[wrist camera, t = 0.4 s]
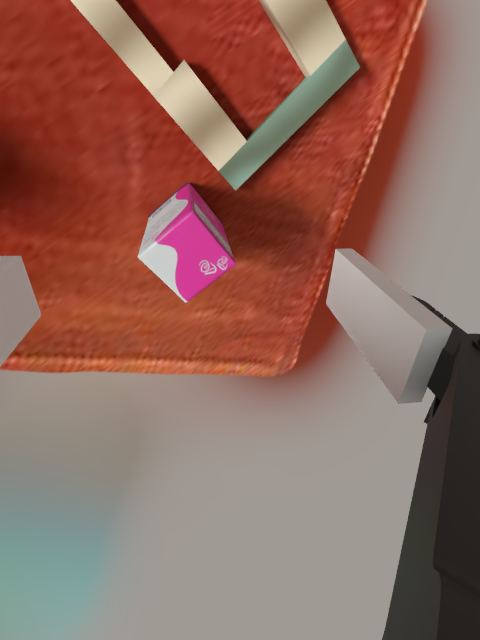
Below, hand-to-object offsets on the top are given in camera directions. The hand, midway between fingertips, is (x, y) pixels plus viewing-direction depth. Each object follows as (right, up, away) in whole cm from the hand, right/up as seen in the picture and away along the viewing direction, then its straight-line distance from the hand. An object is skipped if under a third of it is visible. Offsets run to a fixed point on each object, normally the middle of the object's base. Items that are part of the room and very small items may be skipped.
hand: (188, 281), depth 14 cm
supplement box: (-4, +9, +21) cm, 23 cm away
